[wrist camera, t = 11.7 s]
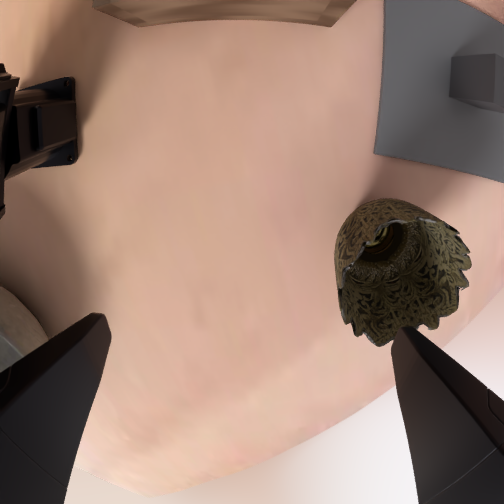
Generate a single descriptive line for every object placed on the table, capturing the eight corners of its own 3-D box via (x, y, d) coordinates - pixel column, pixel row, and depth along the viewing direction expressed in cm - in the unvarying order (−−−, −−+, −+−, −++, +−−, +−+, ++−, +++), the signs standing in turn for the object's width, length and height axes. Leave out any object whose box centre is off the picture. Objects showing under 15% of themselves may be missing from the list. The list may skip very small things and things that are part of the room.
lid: (370, 151, 19) (406, 173, 13) (380, -23, 13) (415, -54, 7) (504, 181, 18) (550, 208, 13) (517, 38, 12) (565, 38, 7)
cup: (400, 158, 18) (466, 197, 11) (423, 248, 21) (474, 313, 14) (300, 200, 20) (317, 260, 13) (337, 285, 23) (359, 364, 16)
